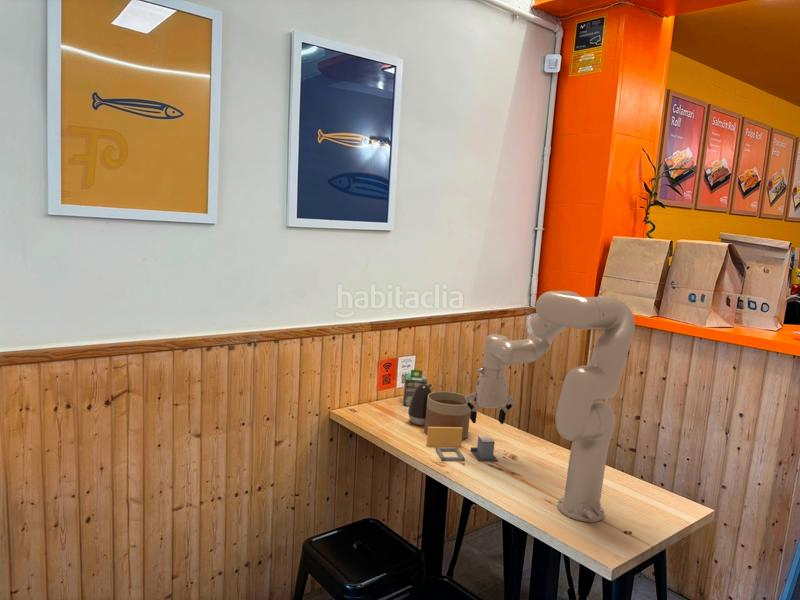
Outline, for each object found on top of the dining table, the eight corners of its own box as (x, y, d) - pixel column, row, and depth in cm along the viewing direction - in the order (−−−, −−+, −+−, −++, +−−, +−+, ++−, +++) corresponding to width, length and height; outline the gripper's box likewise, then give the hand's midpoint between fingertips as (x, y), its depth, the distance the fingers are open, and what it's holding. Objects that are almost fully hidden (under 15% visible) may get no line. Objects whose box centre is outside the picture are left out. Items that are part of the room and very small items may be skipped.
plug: (492, 459, 192) (494, 441, 192) (481, 459, 192) (483, 441, 191) (487, 452, 197) (489, 435, 196) (476, 452, 196) (478, 435, 196)
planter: (436, 444, 202) (440, 406, 200) (416, 428, 216) (420, 392, 214) (475, 440, 209) (480, 403, 207) (454, 425, 223) (457, 390, 221)
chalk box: (424, 401, 249) (427, 367, 247) (425, 408, 240) (428, 373, 238) (402, 399, 249) (405, 365, 247) (402, 406, 240) (406, 371, 238)
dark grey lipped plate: (498, 462, 191) (499, 458, 191) (478, 462, 189) (479, 458, 189) (489, 451, 200) (490, 447, 199) (470, 451, 198) (470, 447, 198)
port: (470, 462, 189) (473, 441, 188) (435, 462, 187) (437, 441, 186) (459, 446, 202) (462, 427, 201) (426, 446, 199) (428, 426, 198)
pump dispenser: (439, 423, 224) (442, 384, 221) (425, 430, 215) (429, 390, 213) (416, 416, 229) (419, 378, 227) (402, 423, 220) (405, 384, 218)
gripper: (471, 374, 185) (465, 425, 188) (522, 377, 189) (515, 427, 191) (464, 367, 193) (458, 417, 195) (514, 370, 196) (507, 418, 199)
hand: (487, 422), depth 193 cm, fingers open, 9 cm apart
